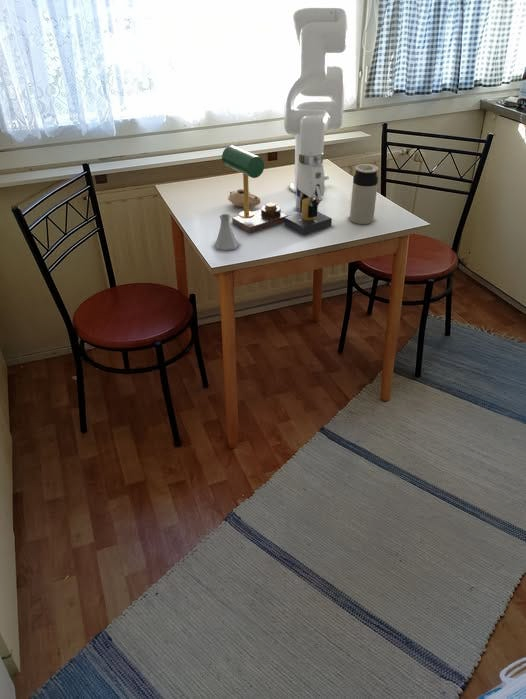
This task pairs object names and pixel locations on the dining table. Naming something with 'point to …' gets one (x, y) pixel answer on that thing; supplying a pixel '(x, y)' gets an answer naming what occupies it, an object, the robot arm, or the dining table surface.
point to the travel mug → (364, 194)
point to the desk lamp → (243, 170)
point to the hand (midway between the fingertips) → (308, 213)
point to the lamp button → (270, 206)
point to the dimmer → (307, 223)
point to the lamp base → (260, 220)
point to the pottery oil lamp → (242, 198)
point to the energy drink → (297, 199)
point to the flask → (225, 235)
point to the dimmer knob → (306, 209)
